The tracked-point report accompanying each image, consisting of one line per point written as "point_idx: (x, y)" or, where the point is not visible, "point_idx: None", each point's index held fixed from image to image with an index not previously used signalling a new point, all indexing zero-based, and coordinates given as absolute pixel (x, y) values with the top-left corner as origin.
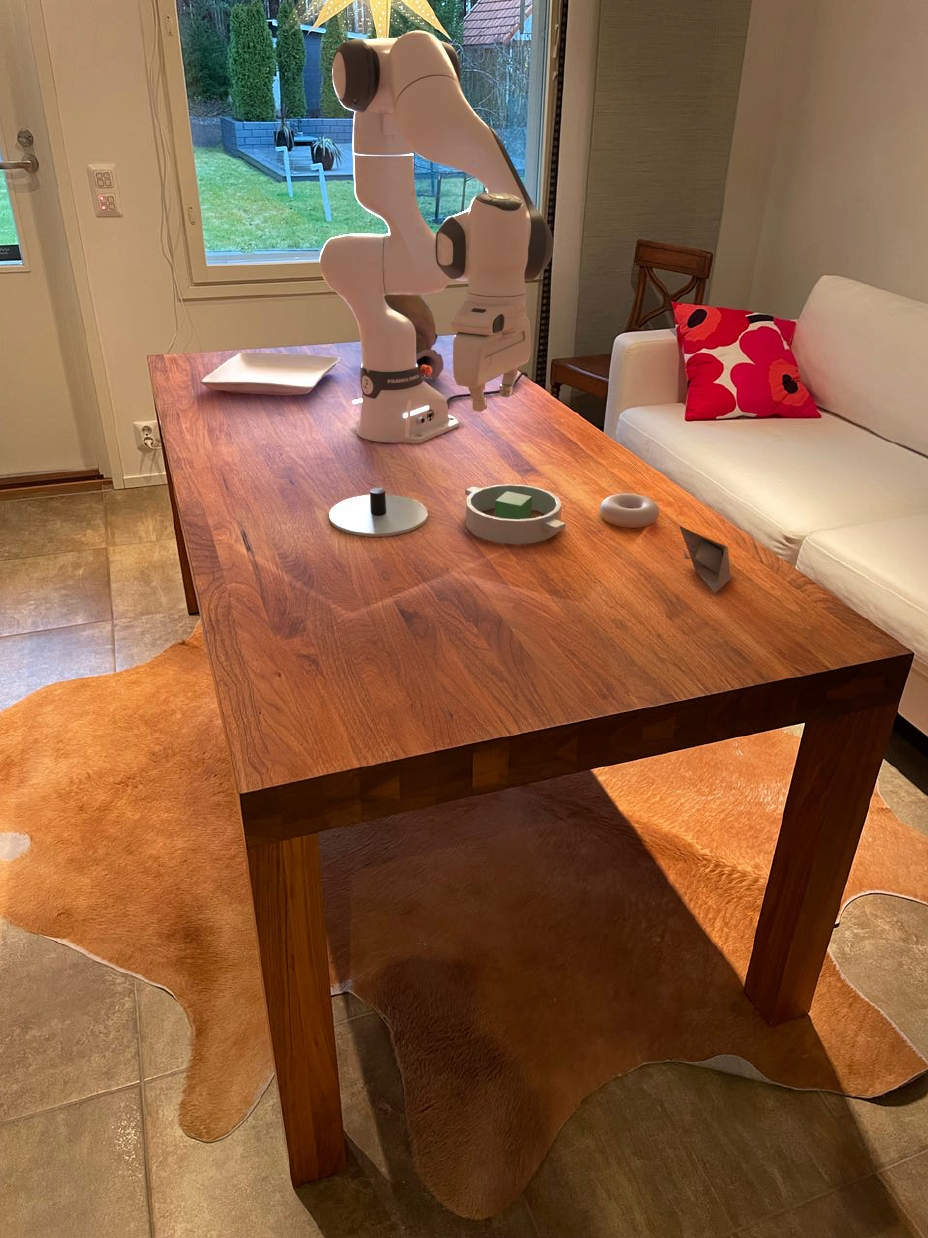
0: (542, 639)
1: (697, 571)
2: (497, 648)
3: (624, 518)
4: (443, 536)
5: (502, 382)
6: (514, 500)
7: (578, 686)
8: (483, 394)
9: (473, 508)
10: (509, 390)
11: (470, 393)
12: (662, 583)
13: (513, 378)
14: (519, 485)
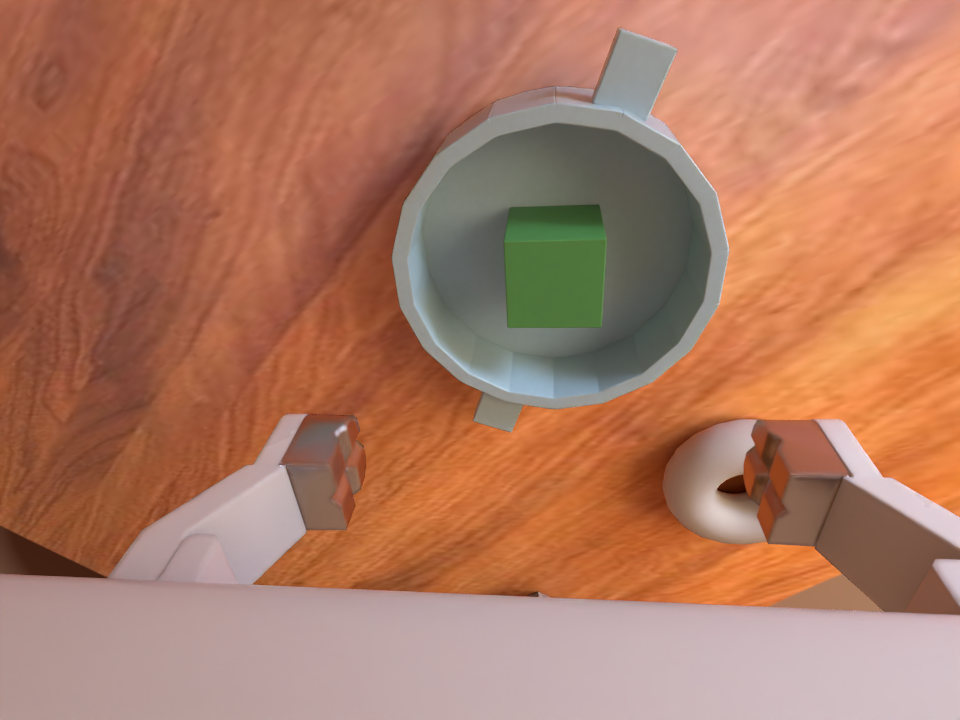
0: (156, 474)
1: (535, 594)
2: (75, 431)
3: (665, 495)
4: (368, 85)
5: (852, 491)
6: (538, 295)
7: (107, 538)
8: (252, 574)
9: (425, 190)
10: (759, 518)
11: (188, 503)
12: (459, 563)
13: (871, 598)
14: (713, 235)
